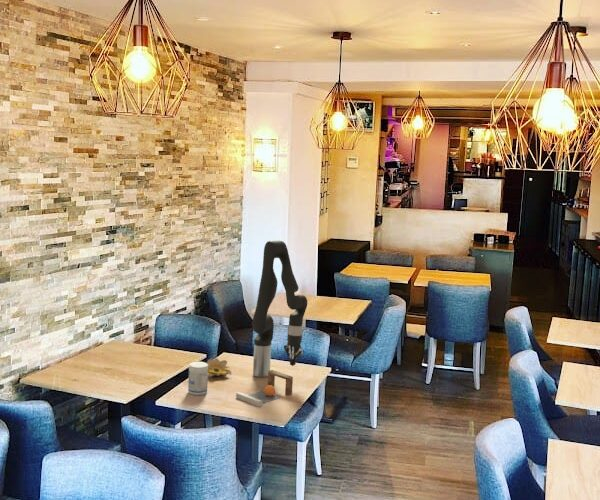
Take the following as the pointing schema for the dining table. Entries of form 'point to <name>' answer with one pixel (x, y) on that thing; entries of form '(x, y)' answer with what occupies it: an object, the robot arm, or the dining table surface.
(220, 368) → the decorative flower
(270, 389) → the ball
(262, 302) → the robot arm
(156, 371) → the dining table surface
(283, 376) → the bridge
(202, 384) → the supplement tub
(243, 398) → the stopper strip
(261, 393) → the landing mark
